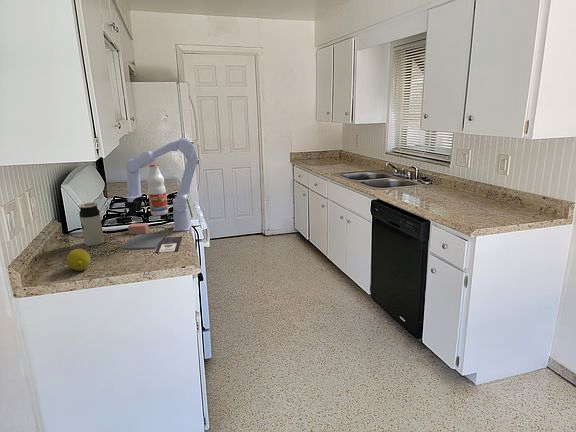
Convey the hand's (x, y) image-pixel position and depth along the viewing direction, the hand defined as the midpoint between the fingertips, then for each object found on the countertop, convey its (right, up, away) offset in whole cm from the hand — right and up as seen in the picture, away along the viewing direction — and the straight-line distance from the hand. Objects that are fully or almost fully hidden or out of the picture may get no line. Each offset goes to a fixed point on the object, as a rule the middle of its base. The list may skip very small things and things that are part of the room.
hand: (135, 213), depth 187 cm
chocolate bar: (+20, -15, -14) cm, 29 cm away
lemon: (-7, -22, -37) cm, 44 cm away
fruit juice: (0, 0, +36) cm, 36 cm away
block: (0, -9, +4) cm, 10 cm away
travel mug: (-15, -14, -9) cm, 22 cm away
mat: (+8, -13, -9) cm, 18 cm away
